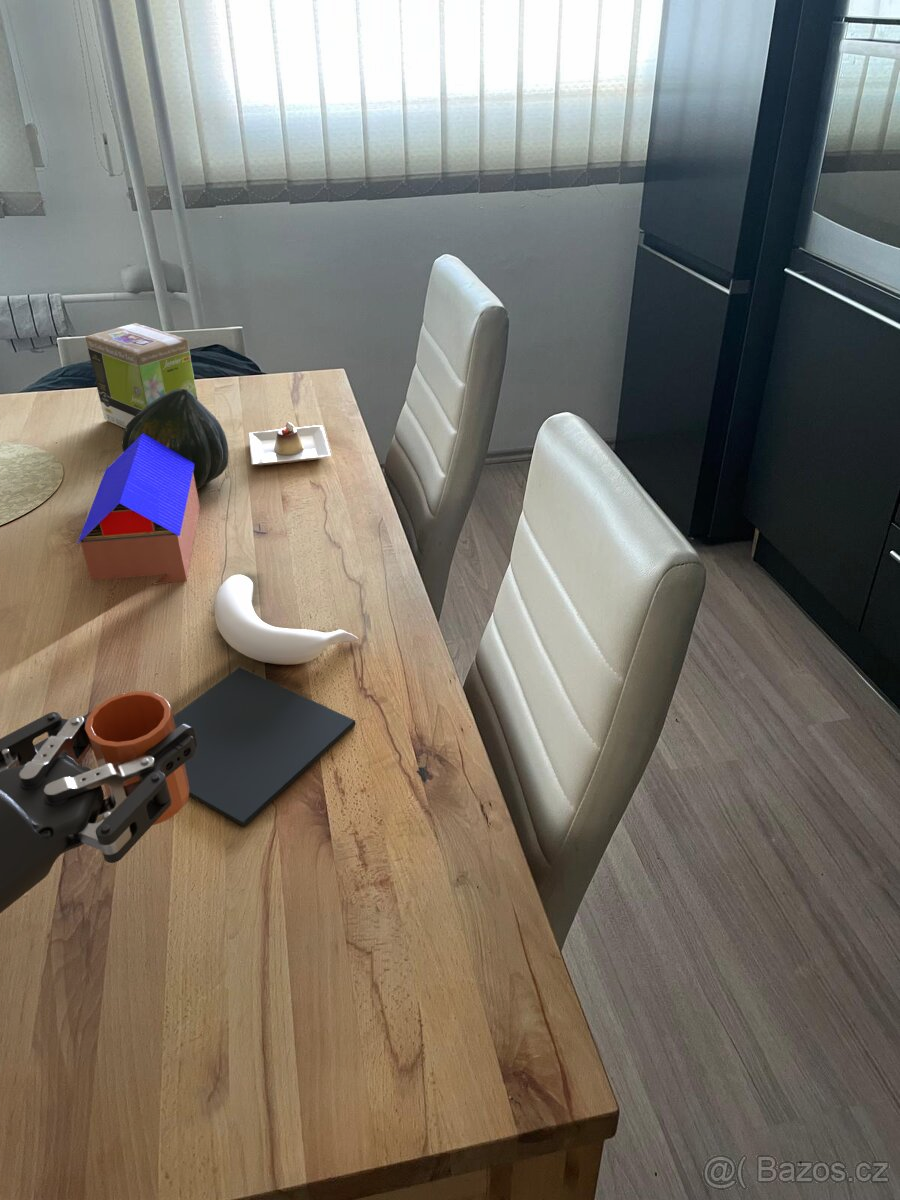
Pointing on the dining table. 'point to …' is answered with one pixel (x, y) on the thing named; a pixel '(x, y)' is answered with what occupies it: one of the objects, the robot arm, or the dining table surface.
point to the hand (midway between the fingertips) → (160, 718)
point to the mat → (253, 742)
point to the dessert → (288, 445)
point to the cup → (135, 738)
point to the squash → (183, 432)
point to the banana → (266, 629)
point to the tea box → (137, 369)
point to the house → (143, 515)
